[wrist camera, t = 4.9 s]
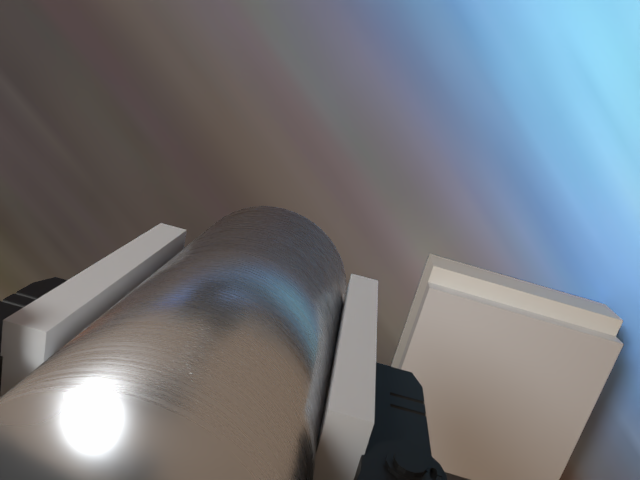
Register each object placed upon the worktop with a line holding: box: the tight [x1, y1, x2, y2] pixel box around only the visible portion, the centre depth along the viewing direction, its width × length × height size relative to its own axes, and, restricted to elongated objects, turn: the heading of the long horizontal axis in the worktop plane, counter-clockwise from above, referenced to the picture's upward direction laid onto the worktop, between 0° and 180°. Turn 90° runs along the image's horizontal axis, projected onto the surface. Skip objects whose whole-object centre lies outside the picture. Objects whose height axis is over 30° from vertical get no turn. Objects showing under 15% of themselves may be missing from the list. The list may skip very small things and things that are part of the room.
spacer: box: [0, 206, 346, 480], centre depth 12 cm, size 5×5×10 cm
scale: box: [391, 254, 623, 480], centre depth 33 cm, size 16×11×4 cm
